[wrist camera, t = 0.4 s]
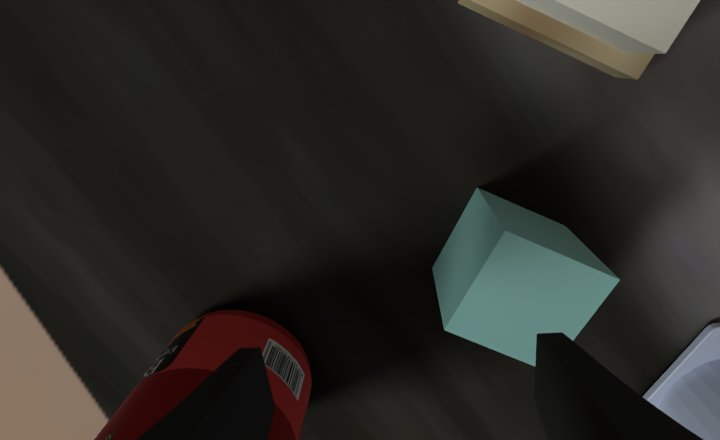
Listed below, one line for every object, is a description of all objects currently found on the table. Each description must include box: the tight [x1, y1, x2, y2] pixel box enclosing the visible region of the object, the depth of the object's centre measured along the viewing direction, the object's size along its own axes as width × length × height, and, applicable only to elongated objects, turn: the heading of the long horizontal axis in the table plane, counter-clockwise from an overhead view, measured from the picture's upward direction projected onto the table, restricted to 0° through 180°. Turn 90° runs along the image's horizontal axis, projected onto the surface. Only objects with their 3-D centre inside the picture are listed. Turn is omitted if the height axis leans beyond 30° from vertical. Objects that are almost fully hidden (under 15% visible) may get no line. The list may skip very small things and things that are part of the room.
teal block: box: [432, 188, 620, 367], centre depth 17 cm, size 4×4×5 cm
